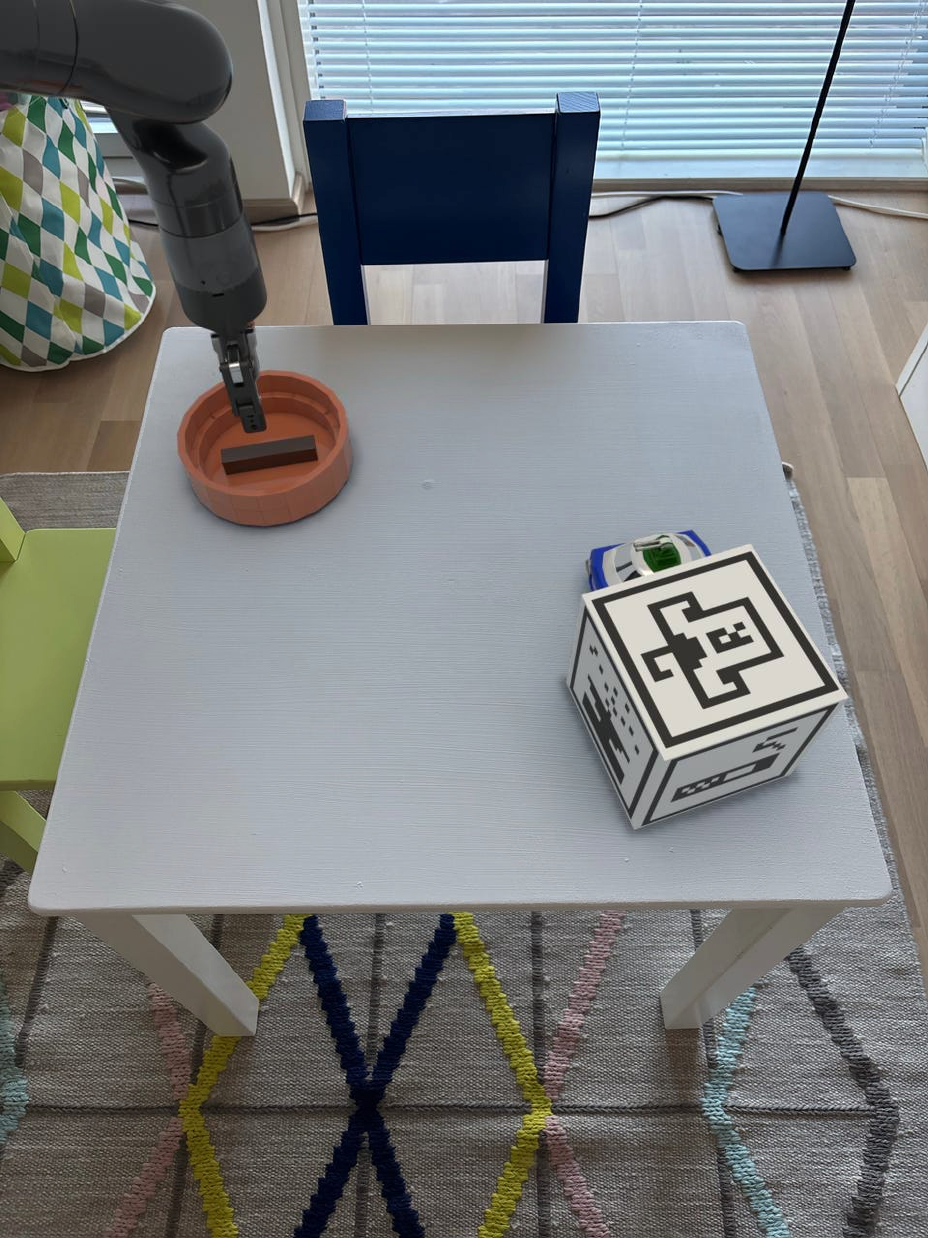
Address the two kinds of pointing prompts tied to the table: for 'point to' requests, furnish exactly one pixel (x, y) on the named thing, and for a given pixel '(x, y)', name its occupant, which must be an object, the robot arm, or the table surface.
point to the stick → (269, 454)
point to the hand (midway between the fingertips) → (252, 399)
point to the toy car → (642, 557)
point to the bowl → (288, 413)
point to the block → (698, 684)
